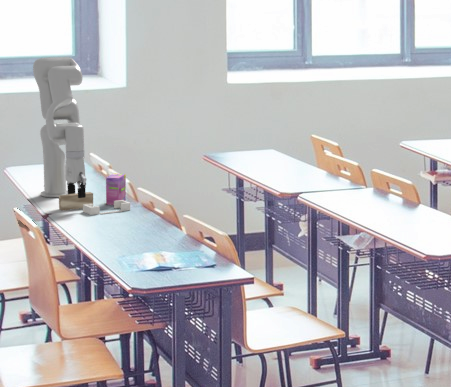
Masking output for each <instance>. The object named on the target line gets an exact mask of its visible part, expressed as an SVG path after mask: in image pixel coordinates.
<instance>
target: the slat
mask: <svg viewBox="0 0 451 387" xmlns="http://www.w3.org/2000/svg"><path fill="white" fill-rule="evenodd" d="M85 194H86V197H85V198H78V192H77V193H76V192H75V194H67V195H59V197H58V208H59V210H60V211H68V210H69V211H70V209H72V210H78V209H79V208H80V209H83V205H84V204H93V205H94V193H93V192H91V191H88V192H87V191H85Z"/></svg>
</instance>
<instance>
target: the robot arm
mask: <svg viewBox="0 0 451 387" xmlns="http://www.w3.org/2000/svg"><path fill="white" fill-rule="evenodd" d="M32 70H33V76H34V80H35V83H36V84H37V86H38V92H39V99H40V109H41V114H42V115H41V116H42V118H43V120H45V125H43V126H41V129H40V131H39V132H40V133H39V135H40V139H41V146H42V153H43V154H42V155H43V156H42V159H43V184H44V185H43V189H44V190H43V191H42V192H40V196H41V197H44V198H59V195H67V194H76V185H77V193H78V198H85V197H86V194H85V192H86V185H87V178H86V167H85V160H84V159H85V134H84V132H85V131H84V130H85V129H84V126H83V125H81V121H80V112H79V105H78V102H77V100H75V99H74V98H73V97H74V96H73V94H72V89H71V86H79V85H81V84H82V83H83V73H82V69H81V68H80V66H79V64H78V63H77V62H76V61H75V60H74V59H73V57H70V56H67V57H66V56H62V57H61V56H57V57H54V56H53V57H52V56H51V57H41V58H37V59H35V60H34V62H33V66H32ZM55 121H67V122H55ZM64 145H65V152H64V150H63V149H62V148H61V147H60V146H64Z"/></svg>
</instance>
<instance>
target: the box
mask: <svg viewBox="0 0 451 387" xmlns="http://www.w3.org/2000/svg"><path fill="white" fill-rule="evenodd" d="M126 176H127V174H126V173H118V172H113V173H112V174H109V175H107V176H106V178H105V195H106V196H105V200H106V201H105V204H106V205H107V206H114V201H118V200H124V201H127V200H126V198H127V197H126V193H127V191H126V185H127V184H126V178H127V177H126Z"/></svg>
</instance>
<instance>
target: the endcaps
mask: <svg viewBox="0 0 451 387" xmlns="http://www.w3.org/2000/svg"><path fill="white" fill-rule="evenodd" d="M113 208H114V209H120V210H114V211H113V210H112V211H105V212H100V210H101V208H100V206H98V205H96V206H94V203H93V204H84V205H83V208H82V212H83V213H85V214H87V215H90V216H93V215H106V214H113V213H124V212H125V211H131V202H129V201H127V200H125V201H124V200H118V201H114V205H113Z"/></svg>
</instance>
